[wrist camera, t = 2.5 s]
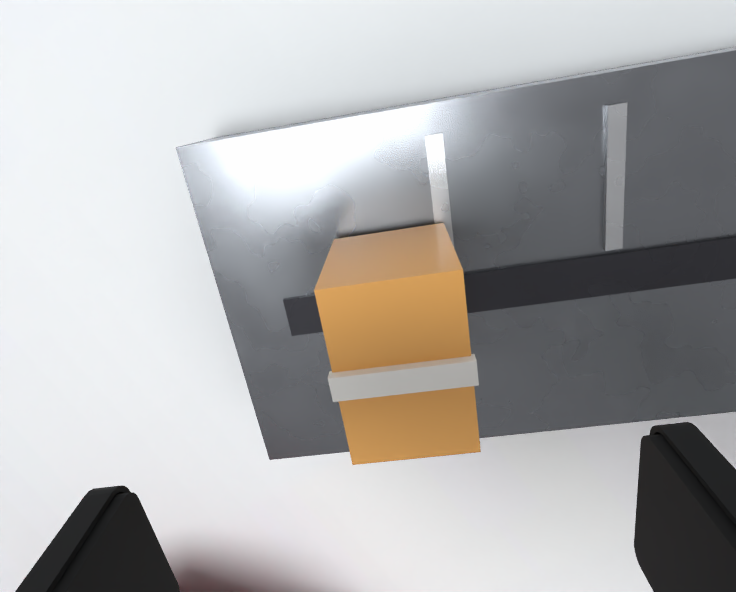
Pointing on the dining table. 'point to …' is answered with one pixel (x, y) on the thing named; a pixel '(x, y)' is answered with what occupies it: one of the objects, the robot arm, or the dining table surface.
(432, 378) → the fader knob
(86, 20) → the dining table surface
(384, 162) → the block
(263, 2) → the dining table surface
